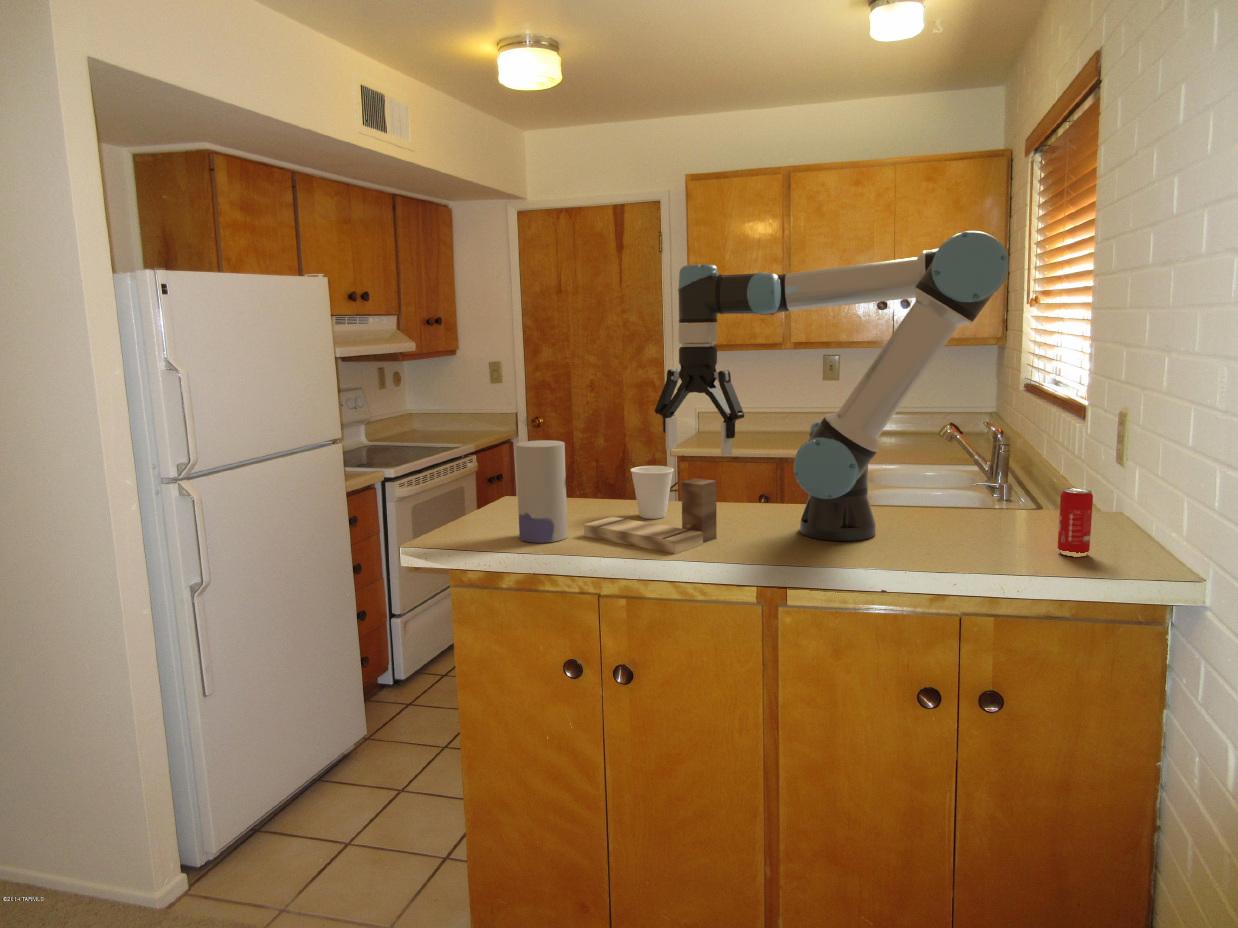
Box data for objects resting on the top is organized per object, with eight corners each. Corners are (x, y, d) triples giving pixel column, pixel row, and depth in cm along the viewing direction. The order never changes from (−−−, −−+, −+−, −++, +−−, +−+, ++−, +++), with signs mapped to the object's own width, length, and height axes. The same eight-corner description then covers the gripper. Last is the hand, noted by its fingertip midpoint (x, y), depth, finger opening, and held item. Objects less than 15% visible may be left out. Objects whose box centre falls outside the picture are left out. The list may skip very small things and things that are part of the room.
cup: (675, 520, 191) (674, 472, 189) (631, 521, 191) (630, 473, 189) (673, 511, 200) (672, 465, 199) (631, 512, 201) (630, 466, 199)
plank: (702, 544, 170) (702, 531, 169) (675, 553, 163) (675, 540, 163) (612, 527, 185) (612, 516, 185) (584, 535, 179) (583, 523, 178)
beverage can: (1072, 559, 154) (1076, 493, 152) (1050, 552, 158) (1054, 488, 157) (1095, 556, 155) (1100, 491, 153) (1073, 549, 160) (1077, 486, 158)
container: (577, 535, 179) (574, 441, 176) (547, 545, 171) (543, 447, 168) (540, 529, 185) (536, 438, 182) (509, 539, 177) (505, 444, 174)
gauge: (716, 538, 174) (716, 480, 172) (697, 545, 169) (697, 485, 167) (696, 535, 177) (696, 478, 175) (677, 541, 173) (677, 483, 171)
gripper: (762, 345, 162) (761, 454, 166) (660, 344, 179) (660, 444, 182) (741, 346, 157) (740, 459, 160) (637, 345, 173) (638, 449, 177)
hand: (698, 452), depth 171 cm, fingers open, 13 cm apart
